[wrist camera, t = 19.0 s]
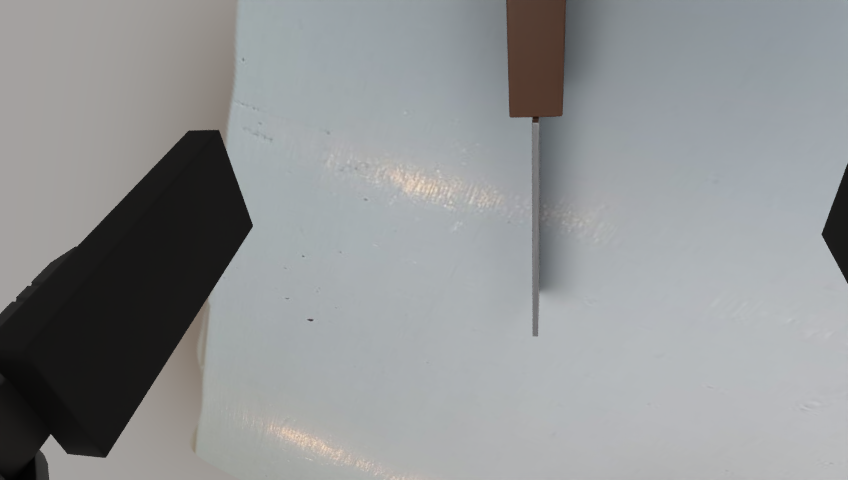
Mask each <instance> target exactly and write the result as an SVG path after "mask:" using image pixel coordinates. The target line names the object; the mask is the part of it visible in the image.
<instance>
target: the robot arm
mask: <svg viewBox="0 0 848 480" xmlns="http://www.w3.org/2000/svg"><path fill="white" fill-rule="evenodd" d="M252 227H253V224H252V222H251V219H250V216H249V213H248V210H247V208H246V205H245V202H244V199H243V196H242V194H241V191H240V188H239V185H238V182H237V179H236V177H235V174H234V171H233V168H232V165H231V163H230V160H229V157H228V154H227V151H226V149H225V146H224V143H223V140H222V138H221V135H220V132H219V130H200V131H188V132H187V133H186V134H185V135H184V136H183V137H182V138H181V139H180V140H179V141H178V142H177V143H176V144H175V146H174V147H173V148H172V149H171V150H170V151H169V152H168V153H167V154H166V155H165V156H164V157H163V158H162V159H161V160H160V161H159V162H158V163H157V164H156V165H155V166H154V168H152V169H151V170H150V171H149V173H148V174H147V175H146V176H145V177H144V178H143V179H142V180H141V181H140V182H139V183H138V184H137V185H136V186H135V187H134V188H133V189H132V190H131V191H130V192H129V193H128V194H127V196H125V198H124V199H123V200H122V201H121V202H120V203H119V204H118V205H117V206H116V207H115V208H114V209H113V210H112V211H111V212H110V213H109V214H108V215H107V216H106V217H105V218H104V219H103V220H102V221H101V223H100V224H99V225H98V226H97V227H96V228H95V229H94V230H93V231H92V232H91V233H90V234H89V235H88V236H87V237H86V238H85V239H84V240H83V241H82V242H81V243H80V244H79V245H78V246H77V247H74V248H72V249H71V250H70V251H68V252H66V253H65V254H63V255H62V256H60V257H59V258H57V259H56V260H54V261H53V262H51V263H50V264H49V265H48V266H47V267H46V268H45V269H44V270H43V271H42V272H41V273H40V274H39V275H38V276H37V277H36V278H35V279H34V280H33V281H32V285H31V286H27V287H26V288H25V289H24V290H23V291H22V292H21V293H20V294H19V295H18V296H17V297H16V298H17V299H16V302H11V303H10V304H9V305H8V306H7V307H6V308H5V309H4V311H2V313H1V314H0V480H49V473H48V463H47V461H46V458H45V456H44V455H43V453H42V452H41V451H40V450H39V449H40V448H41V446H42V445H43V444H44V442H45V441H46V440H47V438H48V437H49V436H50V434H51V435H52V436H53V437H54V438H55V439H56V441H57V442H58V443H59V444H60V445H61V447H62V448H63V449H64V450H65V451H66V453H67V454H73V455H84V456H93V457H102V458H105V457H106V456H107V455H108V453H109V451H110V450H111V449H112V447H113V445H114V444H115V442H116V441H117V439H118V438H119V436H120V434H121V433H122V431H123V430H124V428H125V427H126V425H127V423H128V422H129V420H130V419H131V417H132V416H133V414H134V412H135V411H136V409H137V408H138V406H139V405H140V403H141V401H142V400H143V398H144V397H145V395H146V394H147V392H148V390H149V389H150V387H151V386H152V384H153V382H154V381H155V379H156V378H157V376H158V375H159V373H160V372H161V370H162V368H163V367H164V365H165V364H166V362H167V360H168V359H169V357H170V356H171V354H172V353H173V351H174V349H175V348H176V346H177V345H178V343H179V342H180V340H181V339H182V337H183V335H184V334H185V332H186V331H187V329H188V328H189V326H190V324H191V323H192V321H193V320H194V318H195V317H196V315H197V313H198V312H199V310H200V309H201V307H202V306H203V304H204V302H205V301H206V299H207V298H208V296H209V295H210V293H211V291H212V290H213V288H214V287H215V285H216V284H217V282H218V280H219V279H220V277H221V276H222V274H223V273H224V271H225V269H226V268H227V266H228V265H229V263H230V262H231V260H232V258H233V257H234V255H235V254H236V252H237V251H238V249H239V247H240V246H241V244H242V243H243V241H244V240H245V238H246V236H247V235H248V233H249V232H250V230H251V229H252ZM822 236H823V238H824V240H825V242H826V244H827V246H828V248H829V249H830V251H831V253H832V255H833V257H834V259H835V261H836V262H837V264H838V266H839V268H840V270H841V272H842V274H843V275H844V277H845V279H846V281H847V283H848V164H847V167H846V169H845V172H844V175H843V178H842V180H841V183H840V186H839V188H838V191H837V194H836V197H835V199H834V202H833V205H832V207H831V210H830V213H829V216H828V218H827V221H826V224H825V227H824V229H823V232H822Z"/></svg>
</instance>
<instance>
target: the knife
mask: <svg viewBox="0 0 848 480" xmlns="http://www.w3.org/2000/svg"><path fill="white" fill-rule="evenodd" d="M506 7H507V43H508V79H509V115H510V117H533V118H532V258H533V336H538V319H539V292H540V140H541V117H556V116H562V115H563V84H564V51H565V19H566V0H506Z"/></svg>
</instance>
